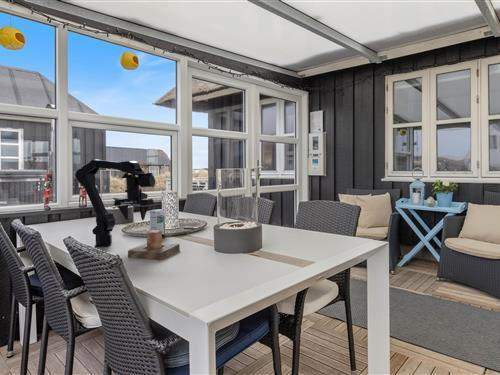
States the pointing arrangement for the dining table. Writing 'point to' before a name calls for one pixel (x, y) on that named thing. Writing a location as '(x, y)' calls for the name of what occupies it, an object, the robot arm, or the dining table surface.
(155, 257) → the walnut hole board
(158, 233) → the terracotta peg
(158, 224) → the syrup box
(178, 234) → the dining table surface
